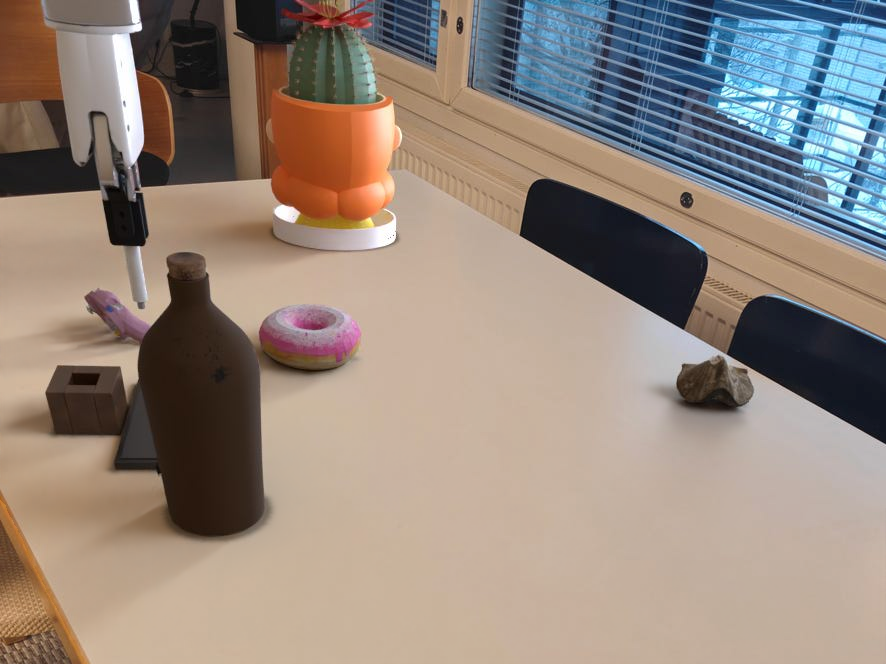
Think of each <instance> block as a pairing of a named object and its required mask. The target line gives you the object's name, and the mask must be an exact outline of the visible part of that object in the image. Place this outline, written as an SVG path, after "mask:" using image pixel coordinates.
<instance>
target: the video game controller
mask: <svg viewBox="0 0 886 664" xmlns="http://www.w3.org/2000/svg"><path fill="white" fill-rule="evenodd" d="M83 298H84V300H85V301H86V304H87V305H88V306H85V308H86V311H87V312H88V313H89V314H90V315H94V314H96V315H98V317H99V318H100V319H101V320H102V321H103V322H104V323H105V325H106V326H107V327H108V328H109V329H110V330H111V331H112V332H113V333H114V335H115V336H116V337H118V338H119V337H120V338H121V339H122V340H123V341H125V340H127V339H128V338H130V339H133V340H135V341H138V342H140V343H141V342H142V339H143V337H144V335H145V334H146V332H147V331H148V330H149V328H150V327H151V326H152V325H151V324H149V323H147V322H146V321H144V320H142V319H140V318H139V317H137V316H135V315H134V314H133V313H132V312H131V311H130V310H129V309H128V308H127V306H126V305H125V304H124V303H122V302H121V300H120V298H119V297H118V295H117V294H115V293H114V292H112V291H109V290H104V289H101V288H100V287H99V286H97V288H96V289H95V290H94V289H91V290H90V291H89V292H88V293H87V294H85V295H84V296H83Z"/></svg>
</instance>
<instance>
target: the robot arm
mask: <svg viewBox="0 0 886 664" xmlns="http://www.w3.org/2000/svg"><path fill="white" fill-rule="evenodd" d="M39 2H40V6H41V11H42V18H43V22H44V25H45V26H46V27H47V28H49V29H53V30H55V40H56V41H55V42H56V52H57V62H58V63H57V64H58V71H59V78H60V83H61V91H62V98H63V105H64V111H65V115H66V116H65V117H66V123H67V130H68V136H69V143H70V148H71V155H72V159H73V161H74V163H75V164H76V165H78V166H79V167H82V168H83V167H85V166H86V165H87V163H88V162H89V160H90V159H91V158H92V156H93V157H94V162H95V167H96V172H97V178H98V182H99V187H100V193H101V197H102V198H101V201H102V207H103V212H104V218H105V225H106V229H107V235H108V241H109V243H110V244H111V245H112V246H114V247H115V246H117V247H124V246H139V247H144V246H146V244H147V239H148V238H149V236H150V231H149V225H148V218H147V217H148V216H147V212H146V211H147V210H146V205H145V199H144V198H145V197H144V193H143V192H141V190H142V185H141V179H140V172H139V166H138V158H139V156H140V154H141V152H142V150H143V147H144V143H145V134H144V133H145V132H144V121H143V113H142V105H141V99H140V92H139V84H138V78H137V72H136V66H135V65H136V64H135V59H134V53H133V47H132V42H131V36H130V34H134V33H138V32H141V31H142V30H143V25H142V20H141V12H140V5H139V0H39ZM123 175H124V177H123Z"/></svg>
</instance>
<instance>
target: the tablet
mask: <svg viewBox="0 0 886 664" xmlns="http://www.w3.org/2000/svg"><path fill="white" fill-rule="evenodd" d="M157 464H158V459H157V455H156V450H155V446H154V442H153V437H152V433H151V428H150V424H149V419H148V415H147V411H146V407H145V403H144V399H143V394H142V390H141V386H140V382H139V377H138V379H137V381H136V385H135V388H134V393H133V395H132V399H131V403H130V405H129V409H128V413H127V416H126V420H125V423H124V427H123V430H122V433H121V437H120V440H119V444H118V447H117V451H116V454H115V458H114V461H113V465H114V469H115V470H156V465H157Z"/></svg>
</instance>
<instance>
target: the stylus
mask: <svg viewBox="0 0 886 664" xmlns="http://www.w3.org/2000/svg"><path fill="white" fill-rule="evenodd" d="M123 177H124V175H123ZM123 251H124V256H125V263H126V268H127V275H128V280H129V285H130V291H131V297H132V301H133V302H135V303H137V308H138V310H145V309H146V303H145V302H147V301H148V300H149V298H148V293H147V286H146V280H145V274H144V268H143V263H142V255H141V249H140V246H123Z"/></svg>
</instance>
